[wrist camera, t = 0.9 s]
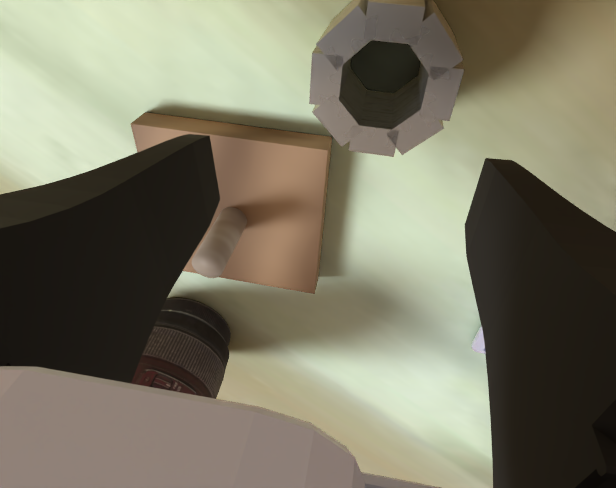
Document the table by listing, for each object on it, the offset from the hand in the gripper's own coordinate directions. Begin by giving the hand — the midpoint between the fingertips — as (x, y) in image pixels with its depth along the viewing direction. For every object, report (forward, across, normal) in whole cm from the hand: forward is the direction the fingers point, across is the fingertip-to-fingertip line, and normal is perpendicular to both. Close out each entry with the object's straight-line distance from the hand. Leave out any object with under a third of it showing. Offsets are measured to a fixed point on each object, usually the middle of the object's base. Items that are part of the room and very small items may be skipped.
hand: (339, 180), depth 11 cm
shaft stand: (+9, +7, +8) cm, 14 cm away
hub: (+9, -1, -1) cm, 9 cm away
